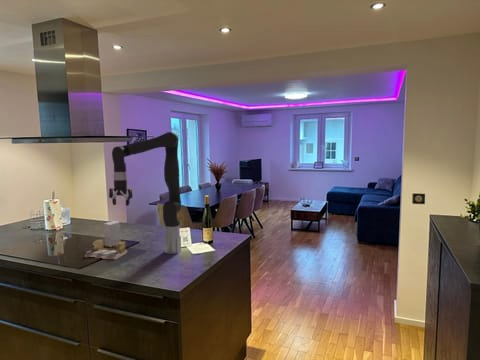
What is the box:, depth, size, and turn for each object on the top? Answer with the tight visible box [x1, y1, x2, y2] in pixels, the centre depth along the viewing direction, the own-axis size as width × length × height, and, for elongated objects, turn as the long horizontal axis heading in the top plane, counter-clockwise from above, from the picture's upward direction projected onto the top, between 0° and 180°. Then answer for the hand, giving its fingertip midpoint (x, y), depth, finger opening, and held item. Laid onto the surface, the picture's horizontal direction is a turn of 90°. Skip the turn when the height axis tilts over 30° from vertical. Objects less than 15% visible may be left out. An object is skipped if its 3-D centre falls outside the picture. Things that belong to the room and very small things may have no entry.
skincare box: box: [103, 220, 122, 248], centre depth 210 cm, size 8×7×16 cm
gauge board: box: [84, 241, 128, 260], centre depth 192 cm, size 20×13×8 cm, turn 80°
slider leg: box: [91, 239, 104, 251], centre depth 193 cm, size 3×8×6 cm, turn 170°
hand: (121, 205), depth 194 cm, fingers open, 8 cm apart
